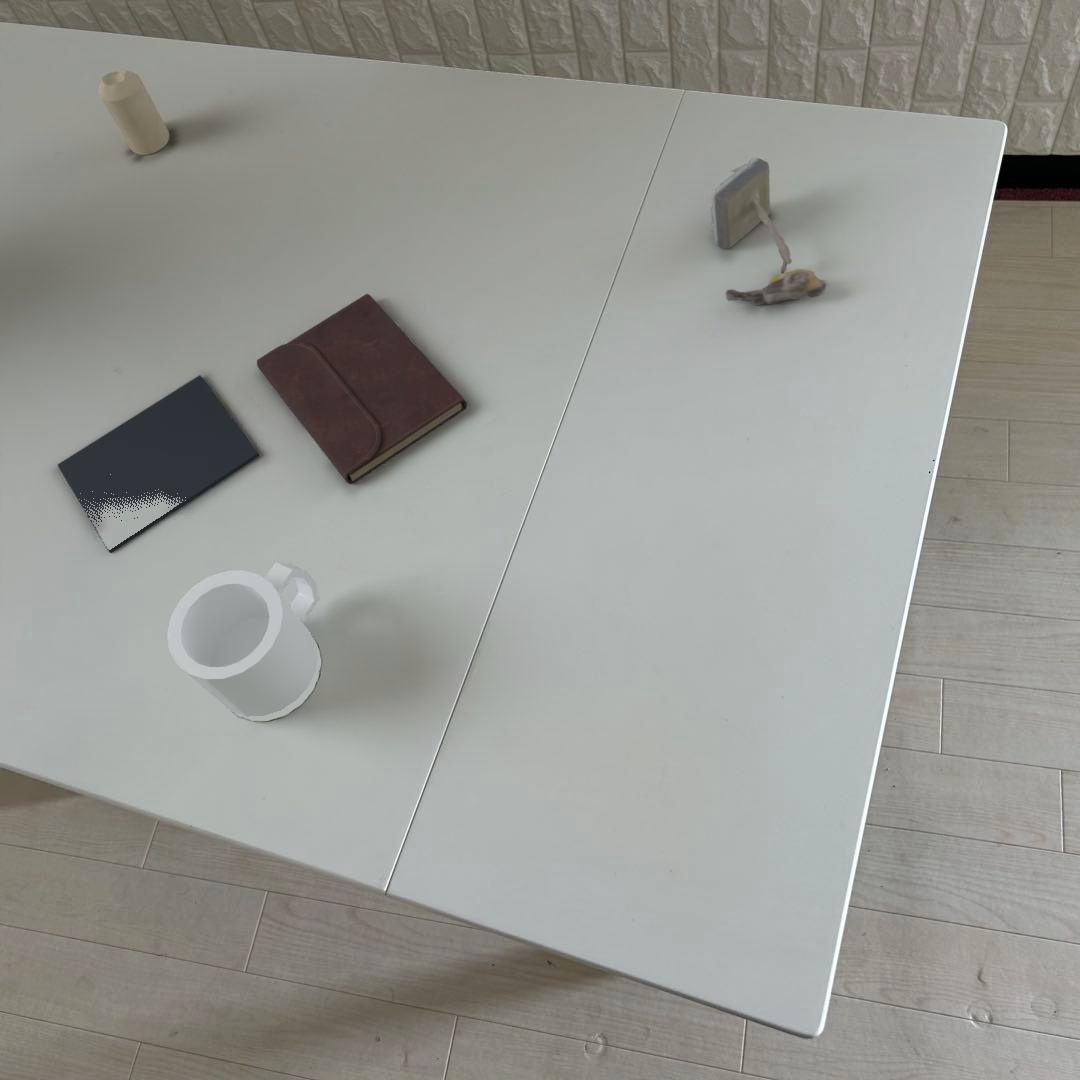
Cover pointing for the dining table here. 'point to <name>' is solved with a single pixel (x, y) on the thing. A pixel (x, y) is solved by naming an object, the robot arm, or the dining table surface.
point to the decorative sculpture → (738, 213)
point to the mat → (161, 454)
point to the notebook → (360, 387)
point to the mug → (247, 638)
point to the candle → (133, 112)
